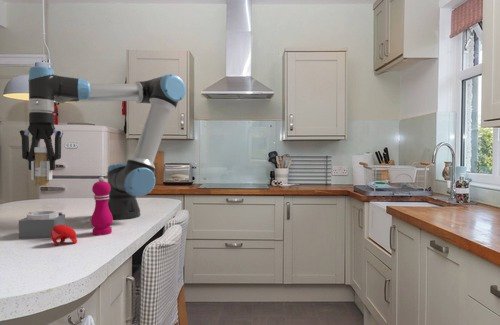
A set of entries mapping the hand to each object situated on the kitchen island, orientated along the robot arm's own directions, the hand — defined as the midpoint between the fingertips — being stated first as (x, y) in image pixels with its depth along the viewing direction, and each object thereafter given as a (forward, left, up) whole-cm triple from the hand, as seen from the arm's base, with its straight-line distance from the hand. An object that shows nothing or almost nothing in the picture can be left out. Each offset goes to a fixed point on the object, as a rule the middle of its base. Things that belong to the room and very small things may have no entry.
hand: (42, 179), depth 125 cm
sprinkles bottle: (0, 0, -2) cm, 2 cm away
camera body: (0, 0, -19) cm, 19 cm away
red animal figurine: (-12, +14, -19) cm, 27 cm away
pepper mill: (-20, +1, -19) cm, 28 cm away
